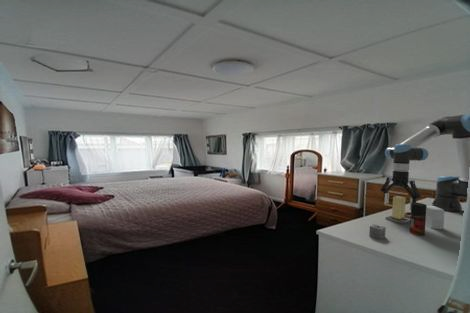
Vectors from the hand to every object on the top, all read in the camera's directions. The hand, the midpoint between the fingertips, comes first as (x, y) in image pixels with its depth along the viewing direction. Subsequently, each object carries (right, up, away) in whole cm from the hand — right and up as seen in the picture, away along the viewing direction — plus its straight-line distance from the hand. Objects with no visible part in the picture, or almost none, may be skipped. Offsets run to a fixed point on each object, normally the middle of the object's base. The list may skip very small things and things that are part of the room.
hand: (398, 206), depth 129 cm
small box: (+13, -9, -8) cm, 18 cm away
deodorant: (-4, -10, -18) cm, 21 cm away
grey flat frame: (+7, -8, +4) cm, 11 cm away
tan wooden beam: (0, -8, +1) cm, 8 cm away
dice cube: (-27, -10, -22) cm, 36 cm away
